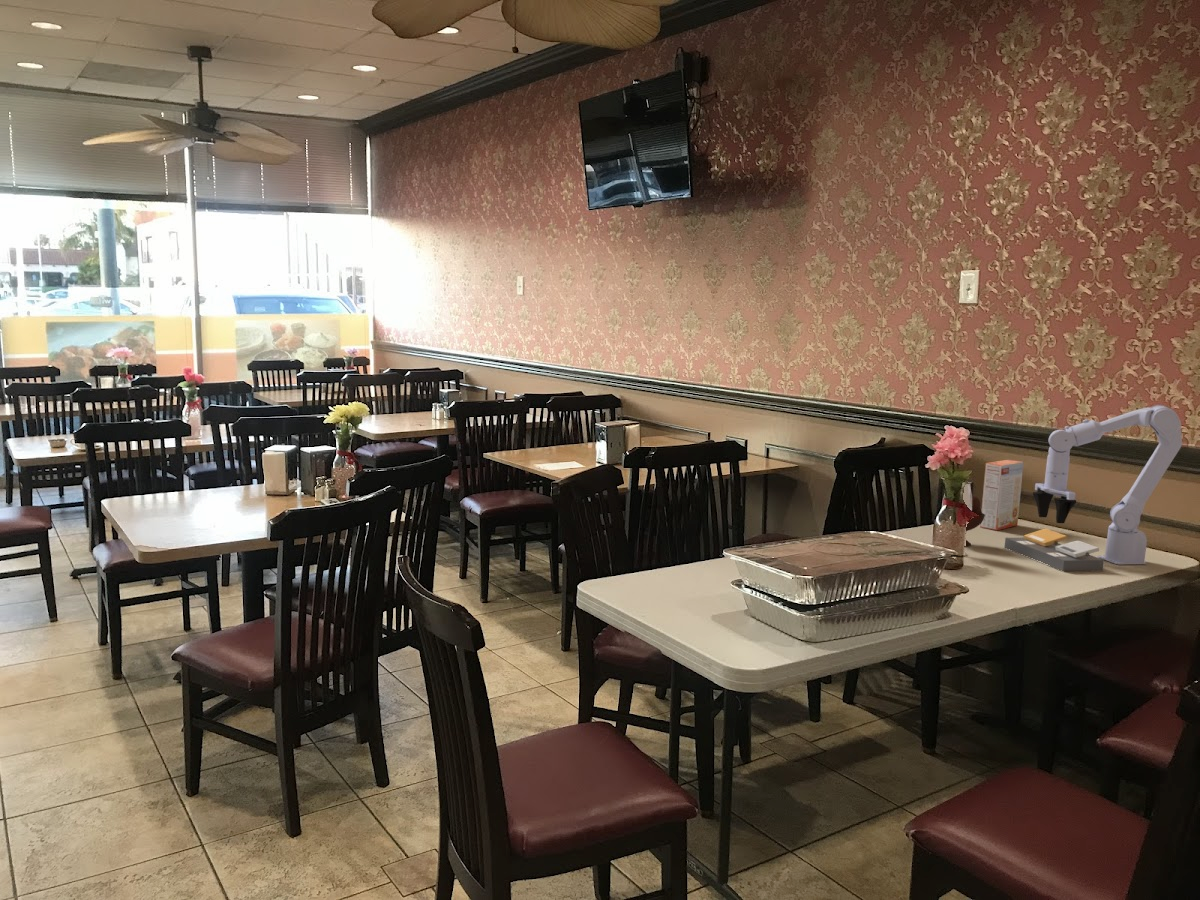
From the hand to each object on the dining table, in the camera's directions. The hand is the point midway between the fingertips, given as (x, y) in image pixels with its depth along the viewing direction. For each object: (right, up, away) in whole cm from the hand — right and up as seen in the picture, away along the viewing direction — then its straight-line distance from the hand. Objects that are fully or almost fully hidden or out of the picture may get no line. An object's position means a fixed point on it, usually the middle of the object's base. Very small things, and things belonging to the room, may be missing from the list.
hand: (1051, 520), depth 269 cm
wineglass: (-30, -9, -5) cm, 31 cm away
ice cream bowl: (-23, -8, +7) cm, 25 cm away
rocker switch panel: (-1, -10, -6) cm, 12 cm away
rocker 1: (-2, -5, -1) cm, 6 cm away
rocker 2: (+1, -7, -13) cm, 15 cm away
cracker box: (-1, -5, +34) cm, 34 cm away
